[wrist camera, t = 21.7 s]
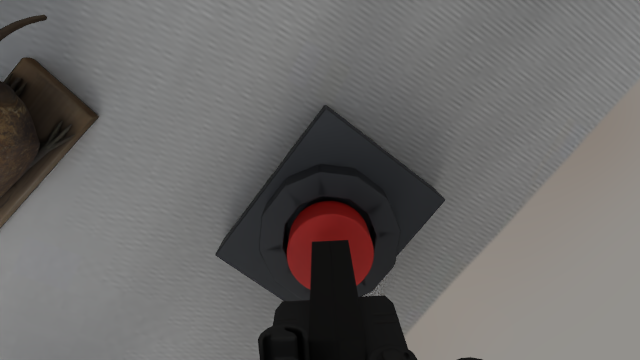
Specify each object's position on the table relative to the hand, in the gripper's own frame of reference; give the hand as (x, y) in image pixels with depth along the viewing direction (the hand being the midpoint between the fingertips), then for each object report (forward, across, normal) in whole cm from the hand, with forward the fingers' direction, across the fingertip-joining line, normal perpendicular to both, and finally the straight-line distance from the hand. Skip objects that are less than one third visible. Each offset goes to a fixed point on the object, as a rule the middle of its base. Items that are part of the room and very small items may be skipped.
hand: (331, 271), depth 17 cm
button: (+4, 0, 0) cm, 4 cm away
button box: (+7, 0, 0) cm, 7 cm away
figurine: (+8, +16, -6) cm, 19 cm away
